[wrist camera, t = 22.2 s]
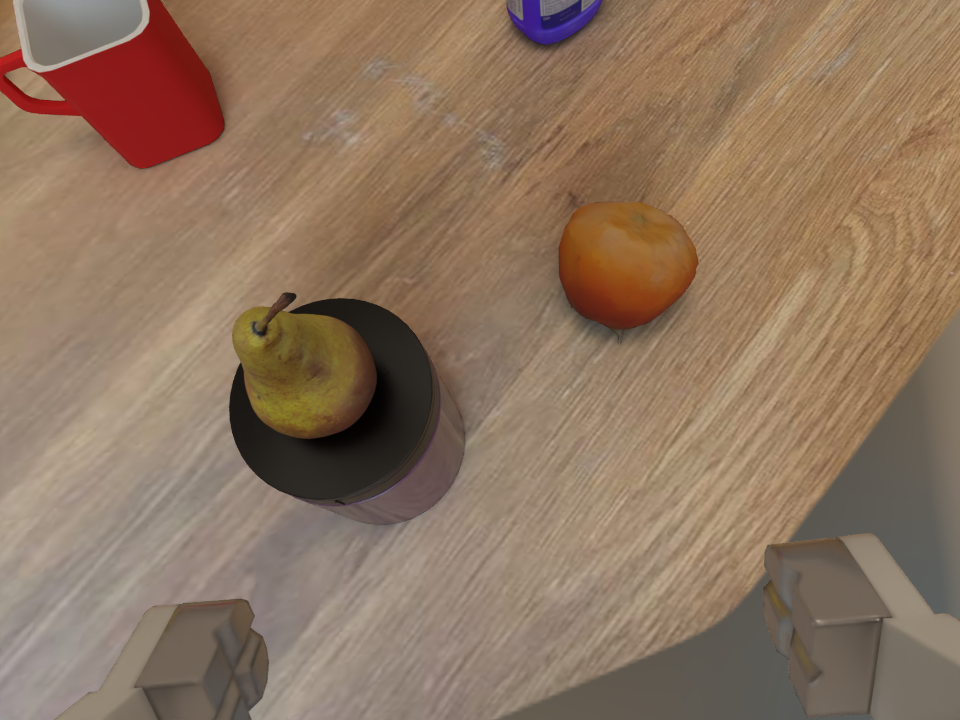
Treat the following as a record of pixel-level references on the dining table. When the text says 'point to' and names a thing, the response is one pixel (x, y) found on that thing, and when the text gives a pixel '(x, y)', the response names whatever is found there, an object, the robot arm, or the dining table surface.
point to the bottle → (551, 17)
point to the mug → (117, 74)
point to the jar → (417, 473)
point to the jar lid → (371, 439)
